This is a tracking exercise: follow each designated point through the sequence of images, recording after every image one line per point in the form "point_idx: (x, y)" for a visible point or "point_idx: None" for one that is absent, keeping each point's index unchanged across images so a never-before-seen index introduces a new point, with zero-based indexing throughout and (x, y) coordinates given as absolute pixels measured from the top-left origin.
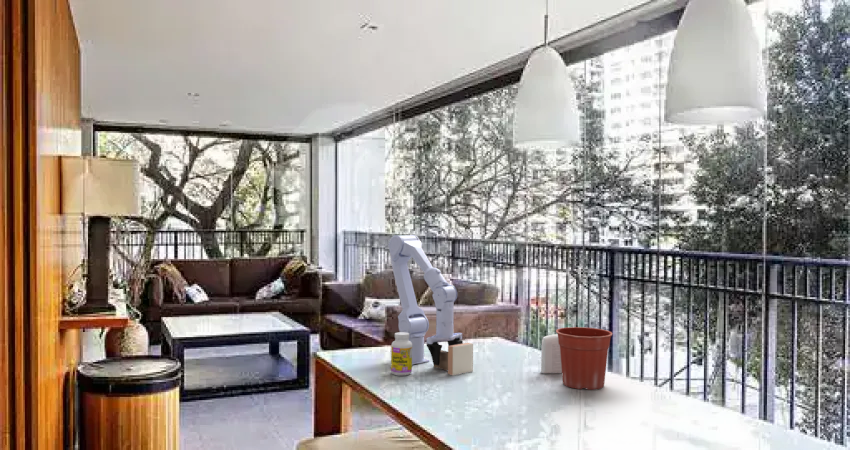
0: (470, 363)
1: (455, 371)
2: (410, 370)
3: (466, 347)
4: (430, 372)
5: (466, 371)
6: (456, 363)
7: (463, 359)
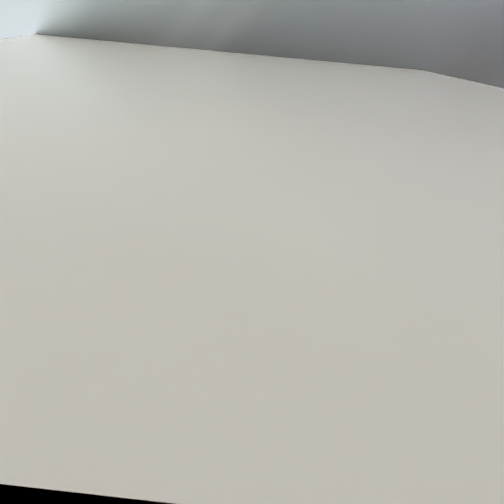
0: (63, 51)
1: (411, 74)
2: None
3: (308, 288)
4: None
5: (185, 49)
6: (478, 91)
7: (315, 87)
